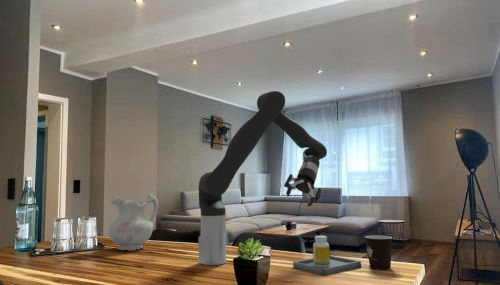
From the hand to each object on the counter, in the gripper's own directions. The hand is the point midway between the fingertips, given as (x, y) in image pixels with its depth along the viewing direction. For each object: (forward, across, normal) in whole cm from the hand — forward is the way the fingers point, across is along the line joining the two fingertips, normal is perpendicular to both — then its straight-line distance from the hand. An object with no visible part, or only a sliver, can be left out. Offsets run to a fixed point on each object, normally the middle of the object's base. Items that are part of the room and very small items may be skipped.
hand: (298, 200), depth 135 cm
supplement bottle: (+20, +15, +4) cm, 25 cm away
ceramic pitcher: (+13, -55, +61) cm, 84 cm away
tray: (+19, +17, +5) cm, 26 cm away
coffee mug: (+14, +33, -2) cm, 35 cm away
